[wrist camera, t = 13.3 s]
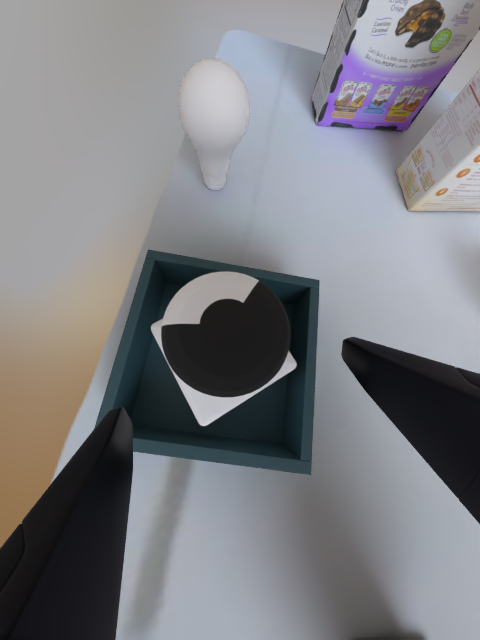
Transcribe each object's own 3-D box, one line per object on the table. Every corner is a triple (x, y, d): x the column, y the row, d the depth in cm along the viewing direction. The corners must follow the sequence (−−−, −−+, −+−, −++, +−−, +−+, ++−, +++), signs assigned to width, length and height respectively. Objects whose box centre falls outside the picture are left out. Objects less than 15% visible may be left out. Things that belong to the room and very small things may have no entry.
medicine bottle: (274, 373, 22) (339, 355, 10) (206, 416, 20) (193, 452, 9) (235, 309, 23) (254, 231, 12) (168, 345, 21) (115, 294, 10)
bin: (288, 454, 20) (311, 475, 16) (119, 431, 20) (88, 445, 15) (299, 301, 25) (319, 279, 20) (161, 277, 24) (147, 249, 19)
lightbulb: (199, 160, 29) (190, 29, 18) (246, 177, 29) (264, 54, 18) (180, 197, 27) (158, 75, 16) (230, 215, 27) (240, 103, 16)
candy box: (396, 105, 36) (538, -119, 20) (406, 133, 34) (569, -87, 18) (309, 97, 34) (390, -152, 18) (315, 126, 32) (408, -120, 17)
